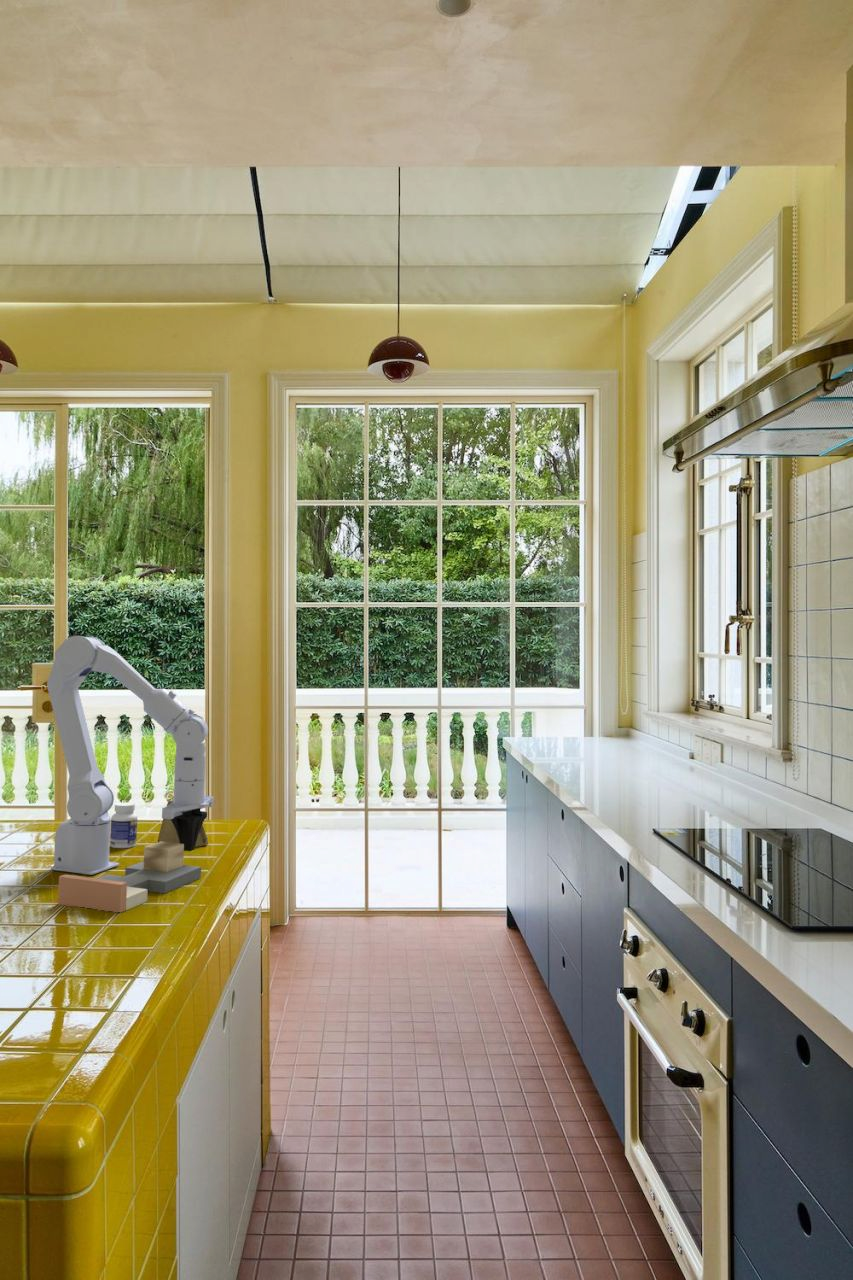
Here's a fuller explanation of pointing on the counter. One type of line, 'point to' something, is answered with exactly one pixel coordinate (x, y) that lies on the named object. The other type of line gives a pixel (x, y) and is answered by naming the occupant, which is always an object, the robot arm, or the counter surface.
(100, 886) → the plate
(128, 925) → the counter surface
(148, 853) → the maple block
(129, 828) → the pill bottle
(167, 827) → the rock
